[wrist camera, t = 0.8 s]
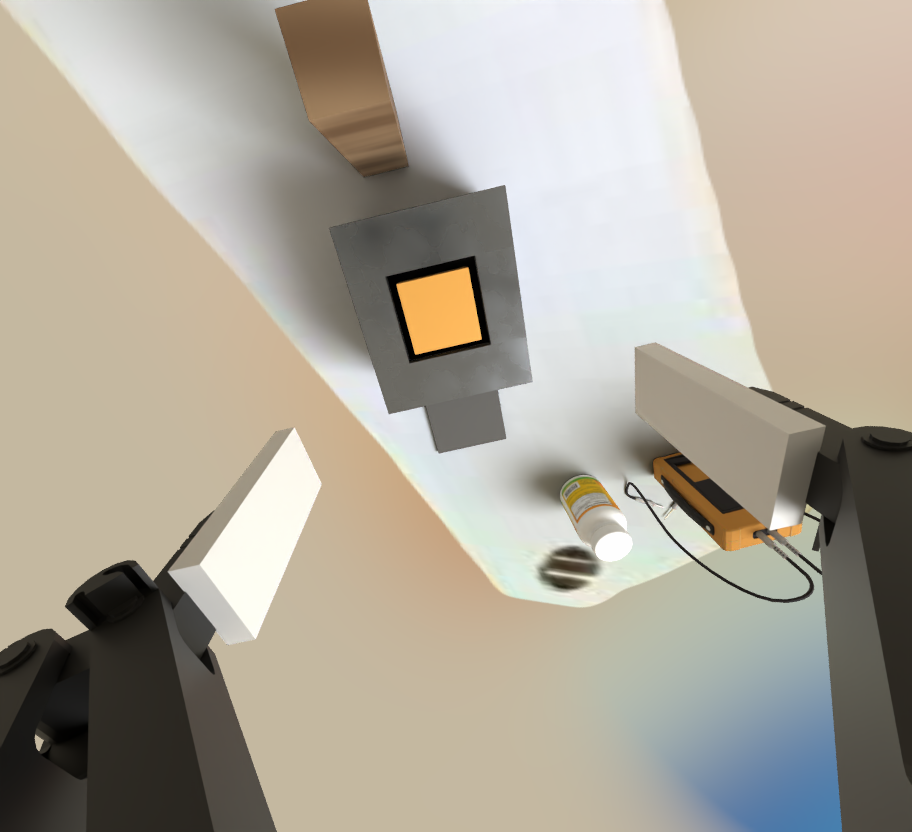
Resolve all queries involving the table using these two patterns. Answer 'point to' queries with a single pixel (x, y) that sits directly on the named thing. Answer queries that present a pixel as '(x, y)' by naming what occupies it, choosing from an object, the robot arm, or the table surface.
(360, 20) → the brown rectangular block
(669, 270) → the table surface
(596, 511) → the supplement bottle
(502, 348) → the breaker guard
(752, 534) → the multimeter
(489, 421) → the rest mat
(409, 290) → the button
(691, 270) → the table surface
